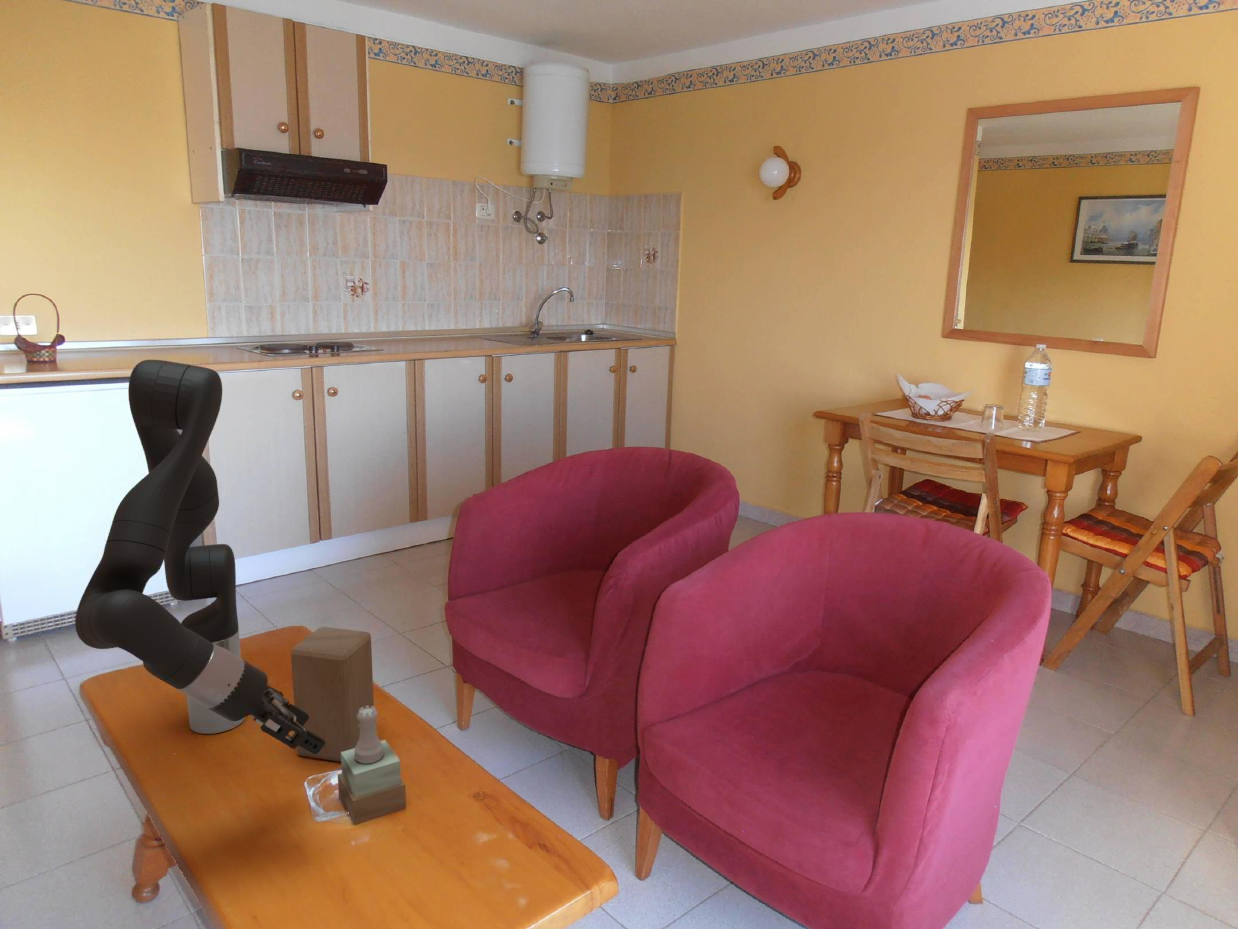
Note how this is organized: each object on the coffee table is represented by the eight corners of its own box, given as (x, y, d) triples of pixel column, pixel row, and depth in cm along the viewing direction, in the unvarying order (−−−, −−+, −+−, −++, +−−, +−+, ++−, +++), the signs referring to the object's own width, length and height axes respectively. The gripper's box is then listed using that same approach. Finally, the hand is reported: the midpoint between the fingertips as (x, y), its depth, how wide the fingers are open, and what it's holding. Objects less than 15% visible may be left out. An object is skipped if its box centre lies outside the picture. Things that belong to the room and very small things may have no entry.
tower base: (338, 797, 135) (336, 751, 133) (388, 781, 140) (387, 737, 138) (354, 825, 129) (352, 777, 127) (406, 807, 133) (404, 761, 131)
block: (349, 765, 144) (343, 655, 139) (294, 757, 146) (287, 648, 141) (377, 734, 153) (373, 630, 149) (326, 727, 155) (320, 624, 151)
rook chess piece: (357, 749, 134) (355, 702, 132) (386, 748, 134) (385, 702, 133) (351, 765, 130) (348, 717, 128) (381, 765, 130) (379, 717, 128)
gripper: (253, 679, 113) (344, 734, 122) (231, 640, 124) (316, 693, 133) (212, 727, 111) (308, 780, 120) (193, 683, 122) (282, 734, 131)
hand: (312, 734), depth 126 cm, fingers open, 8 cm apart
